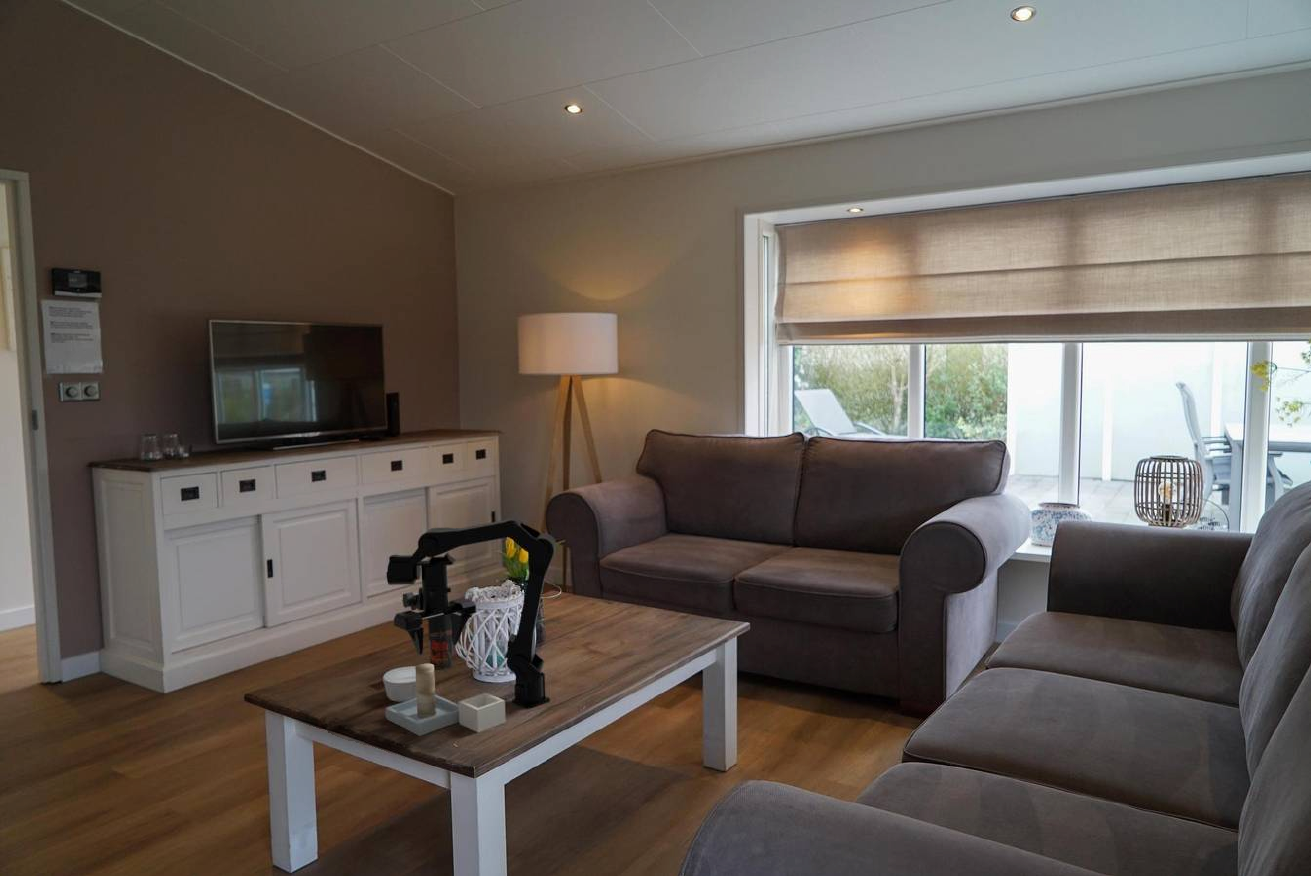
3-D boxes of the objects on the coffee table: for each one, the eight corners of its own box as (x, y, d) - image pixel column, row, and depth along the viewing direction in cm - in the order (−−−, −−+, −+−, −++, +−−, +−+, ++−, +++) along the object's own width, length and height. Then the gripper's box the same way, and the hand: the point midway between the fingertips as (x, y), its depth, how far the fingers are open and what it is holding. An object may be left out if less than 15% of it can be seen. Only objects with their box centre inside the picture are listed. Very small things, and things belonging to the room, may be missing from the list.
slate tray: (432, 703, 210) (432, 693, 209) (467, 719, 200) (466, 708, 200) (386, 718, 201) (385, 708, 201) (419, 735, 191) (418, 724, 191)
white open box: (486, 714, 202) (485, 692, 202) (505, 722, 197) (504, 700, 197) (459, 723, 197) (458, 701, 197) (478, 732, 192) (477, 710, 192)
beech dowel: (429, 709, 203) (427, 662, 202) (439, 714, 200) (437, 666, 200) (414, 714, 200) (411, 666, 199) (423, 719, 198) (421, 670, 197)
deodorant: (425, 666, 236) (423, 610, 235) (445, 660, 240) (443, 605, 239) (437, 671, 232) (435, 614, 231) (457, 665, 236) (455, 609, 235)
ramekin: (405, 707, 208) (404, 685, 207) (373, 698, 214) (372, 676, 214) (441, 692, 217) (440, 671, 217) (410, 683, 223) (409, 663, 223)
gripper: (450, 571, 219) (452, 633, 220) (380, 585, 206) (383, 652, 207) (476, 578, 211) (478, 642, 213) (405, 593, 198) (408, 662, 199)
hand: (437, 649), depth 208 cm, fingers open, 9 cm apart
